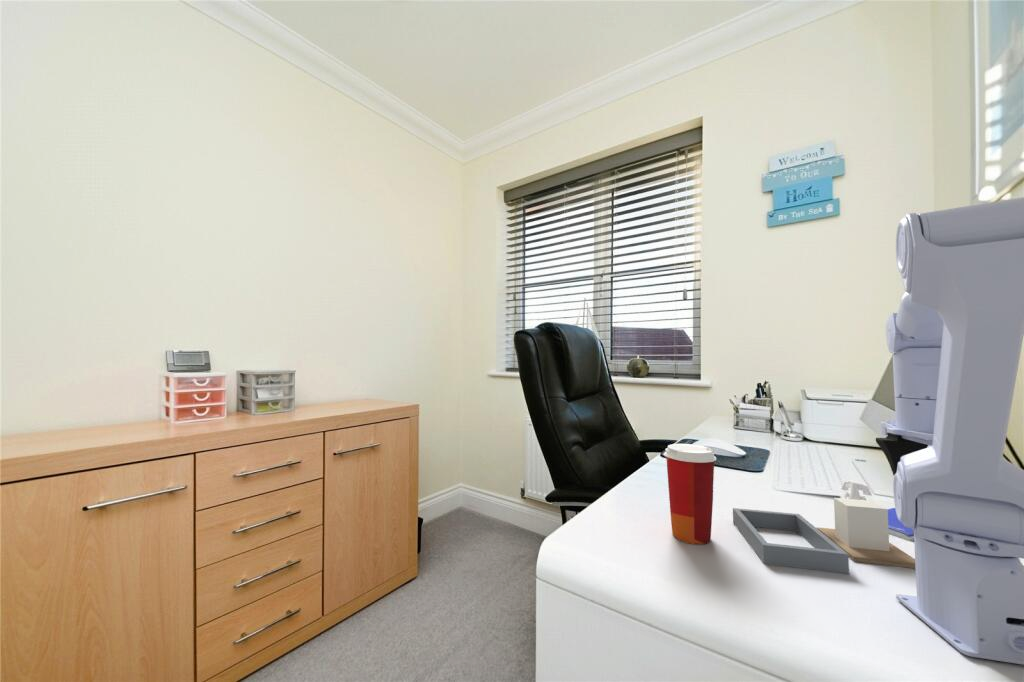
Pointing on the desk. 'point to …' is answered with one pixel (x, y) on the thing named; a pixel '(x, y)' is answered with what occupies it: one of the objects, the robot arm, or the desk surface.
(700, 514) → the paper cup
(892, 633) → the desk surface
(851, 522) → the block
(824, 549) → the tray
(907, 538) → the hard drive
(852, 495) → the clip
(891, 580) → the desk surface
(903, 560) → the pad
